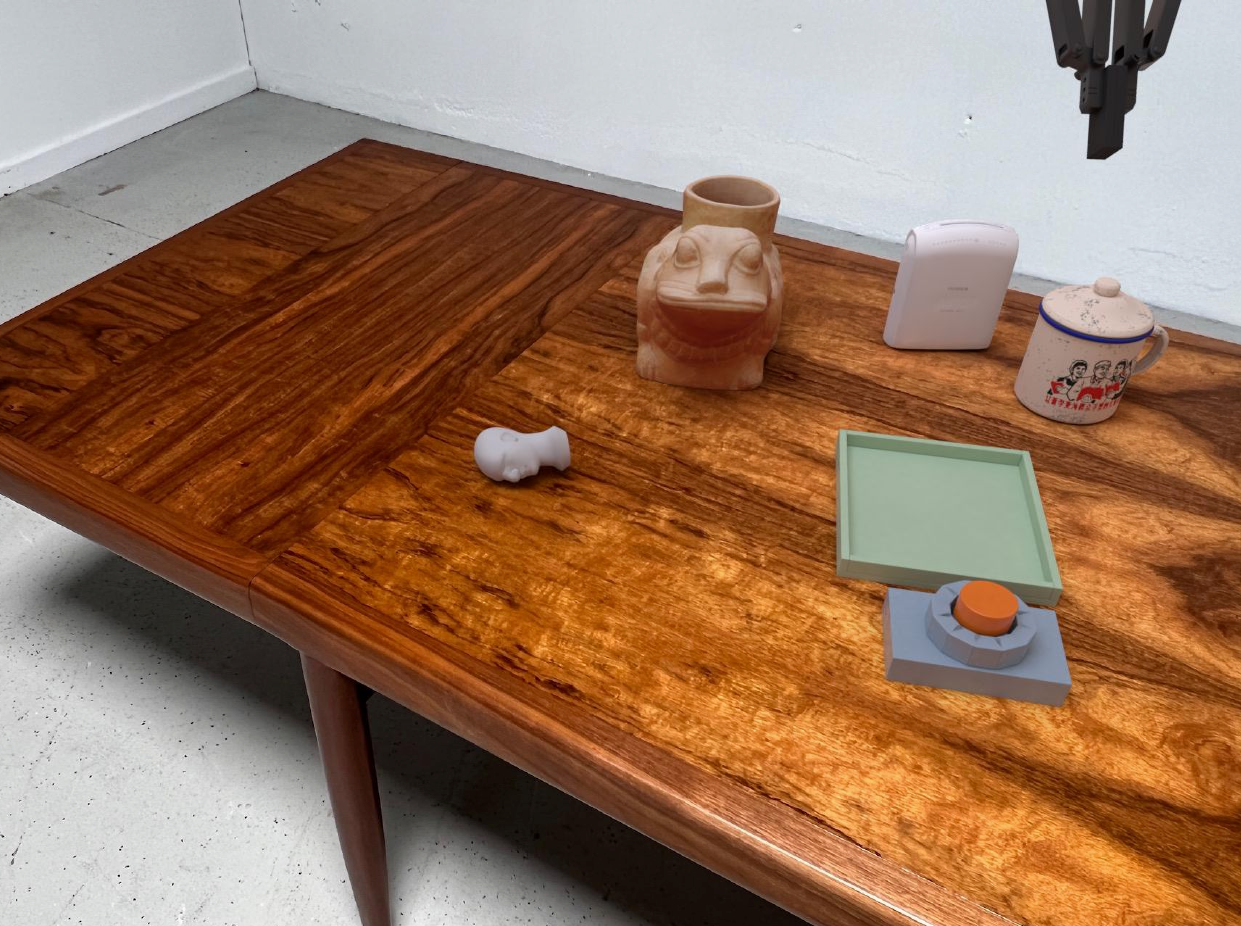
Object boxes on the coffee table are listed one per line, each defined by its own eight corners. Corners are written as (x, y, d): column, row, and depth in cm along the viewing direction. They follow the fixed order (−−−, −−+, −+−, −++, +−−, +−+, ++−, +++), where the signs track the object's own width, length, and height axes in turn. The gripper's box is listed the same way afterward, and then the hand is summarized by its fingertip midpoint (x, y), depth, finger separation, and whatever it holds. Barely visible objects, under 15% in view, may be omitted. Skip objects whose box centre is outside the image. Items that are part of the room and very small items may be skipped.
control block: (1045, 633, 74) (1064, 590, 72) (1061, 708, 69) (1082, 665, 67) (881, 609, 76) (894, 567, 74) (885, 680, 71) (899, 637, 69)
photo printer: (886, 352, 104) (917, 230, 96) (876, 330, 107) (906, 210, 99) (994, 354, 104) (1034, 232, 96) (981, 332, 107) (1019, 212, 99)
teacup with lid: (1037, 429, 94) (1082, 308, 86) (993, 375, 101) (1032, 259, 93) (1169, 424, 94) (1226, 303, 87) (1117, 370, 101) (1165, 254, 94)
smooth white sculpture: (472, 494, 89) (478, 445, 91) (569, 498, 88) (572, 448, 91) (468, 463, 85) (474, 413, 88) (568, 467, 84) (572, 416, 87)
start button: (1007, 603, 72) (1015, 584, 70) (1014, 641, 69) (1022, 621, 68) (951, 595, 72) (957, 576, 71) (955, 632, 69) (963, 613, 68)
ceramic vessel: (615, 405, 97) (626, 249, 87) (651, 277, 116) (662, 137, 107) (771, 423, 94) (800, 264, 85) (780, 289, 114) (805, 147, 104)
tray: (1022, 468, 89) (1029, 451, 88) (1055, 607, 76) (1063, 588, 75) (835, 446, 92) (839, 428, 91) (836, 576, 79) (841, 558, 78)
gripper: (1178, -113, 89) (1160, 172, 90) (1019, -118, 90) (1002, 166, 90) (1235, -172, 82) (1216, 139, 82) (1062, -177, 82) (1043, 133, 83)
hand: (1104, 153), depth 86 cm, fingers closed
